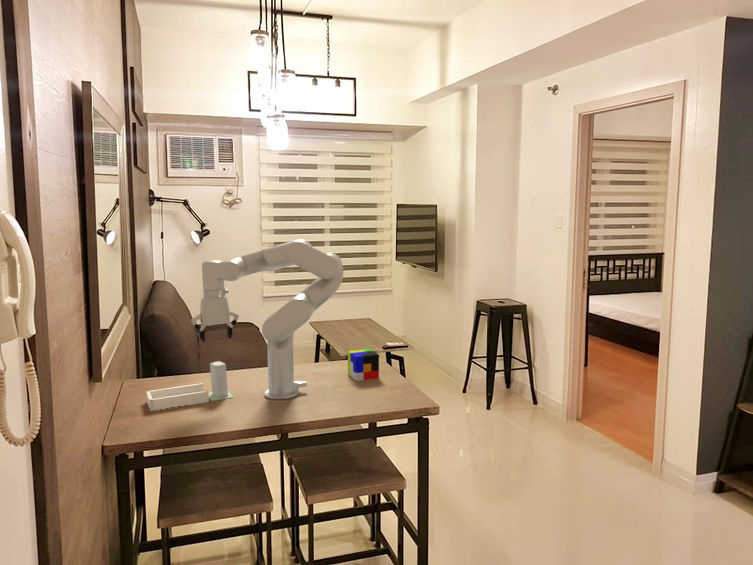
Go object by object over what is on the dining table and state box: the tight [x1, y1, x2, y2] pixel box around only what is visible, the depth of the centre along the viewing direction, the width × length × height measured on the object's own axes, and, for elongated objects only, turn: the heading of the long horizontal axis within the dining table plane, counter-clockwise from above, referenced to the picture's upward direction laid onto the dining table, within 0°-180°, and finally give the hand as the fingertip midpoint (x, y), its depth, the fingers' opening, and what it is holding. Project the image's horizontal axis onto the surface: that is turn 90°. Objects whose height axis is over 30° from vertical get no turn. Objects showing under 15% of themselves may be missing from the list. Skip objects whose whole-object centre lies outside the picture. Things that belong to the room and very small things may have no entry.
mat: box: [208, 390, 234, 402], centre depth 222 cm, size 8×10×1 cm
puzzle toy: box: [347, 348, 380, 382], centre depth 244 cm, size 10×10×10 cm
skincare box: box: [209, 361, 229, 397], centre depth 221 cm, size 6×4×12 cm
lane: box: [145, 382, 210, 412], centre depth 215 cm, size 20×11×4 cm, turn 117°
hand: (216, 339), depth 219 cm, fingers open, 9 cm apart
